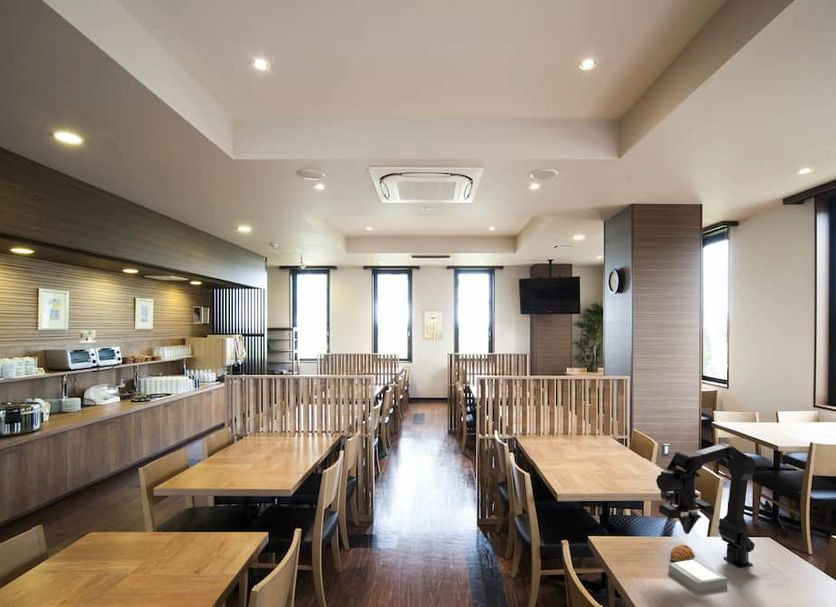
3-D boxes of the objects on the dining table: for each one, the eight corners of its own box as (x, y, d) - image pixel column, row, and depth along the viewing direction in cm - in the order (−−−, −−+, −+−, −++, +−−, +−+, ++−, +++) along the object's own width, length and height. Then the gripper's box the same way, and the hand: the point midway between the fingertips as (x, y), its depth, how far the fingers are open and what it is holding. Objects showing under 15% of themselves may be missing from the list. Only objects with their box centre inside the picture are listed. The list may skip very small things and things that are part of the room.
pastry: (684, 567, 157) (684, 557, 157) (664, 558, 163) (665, 548, 163) (696, 559, 163) (696, 548, 163) (677, 550, 168) (677, 540, 168)
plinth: (696, 567, 158) (695, 558, 158) (727, 587, 146) (726, 577, 146) (668, 572, 155) (668, 562, 155) (698, 592, 143) (697, 582, 143)
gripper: (689, 479, 167) (689, 520, 166) (647, 482, 162) (647, 525, 162) (715, 490, 156) (715, 534, 155) (671, 494, 152) (671, 540, 151)
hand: (686, 533), depth 156 cm, fingers closed
